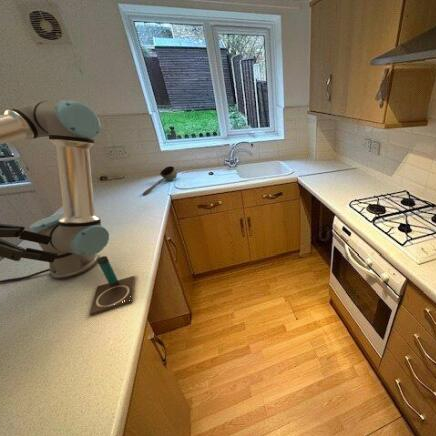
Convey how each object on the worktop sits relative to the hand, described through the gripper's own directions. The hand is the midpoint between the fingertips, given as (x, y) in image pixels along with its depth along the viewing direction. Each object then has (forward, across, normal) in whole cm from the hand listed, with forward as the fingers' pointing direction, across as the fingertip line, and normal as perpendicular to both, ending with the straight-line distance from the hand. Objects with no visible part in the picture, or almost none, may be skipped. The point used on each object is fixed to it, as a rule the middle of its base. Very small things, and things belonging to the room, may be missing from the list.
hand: (52, 248), depth 73 cm
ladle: (+61, +99, -29) cm, 120 cm away
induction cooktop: (+22, -5, +10) cm, 25 cm away
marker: (+22, 0, +9) cm, 24 cm away
